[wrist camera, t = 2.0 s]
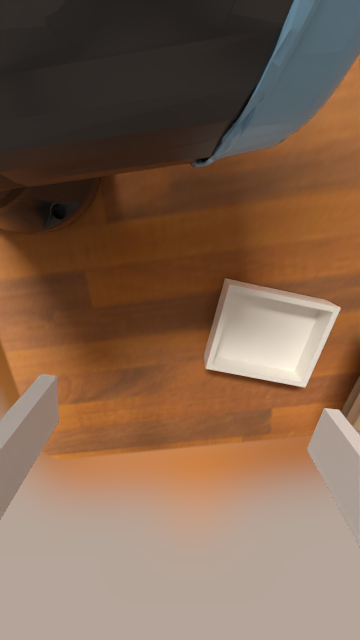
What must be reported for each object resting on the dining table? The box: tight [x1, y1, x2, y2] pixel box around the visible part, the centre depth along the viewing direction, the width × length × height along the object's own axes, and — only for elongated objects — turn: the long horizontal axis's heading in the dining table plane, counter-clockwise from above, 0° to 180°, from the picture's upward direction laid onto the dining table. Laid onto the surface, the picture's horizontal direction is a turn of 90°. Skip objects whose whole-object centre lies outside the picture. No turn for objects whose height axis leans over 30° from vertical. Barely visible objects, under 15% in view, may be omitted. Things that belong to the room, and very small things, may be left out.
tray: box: [204, 278, 341, 387], centre depth 31 cm, size 12×10×3 cm
